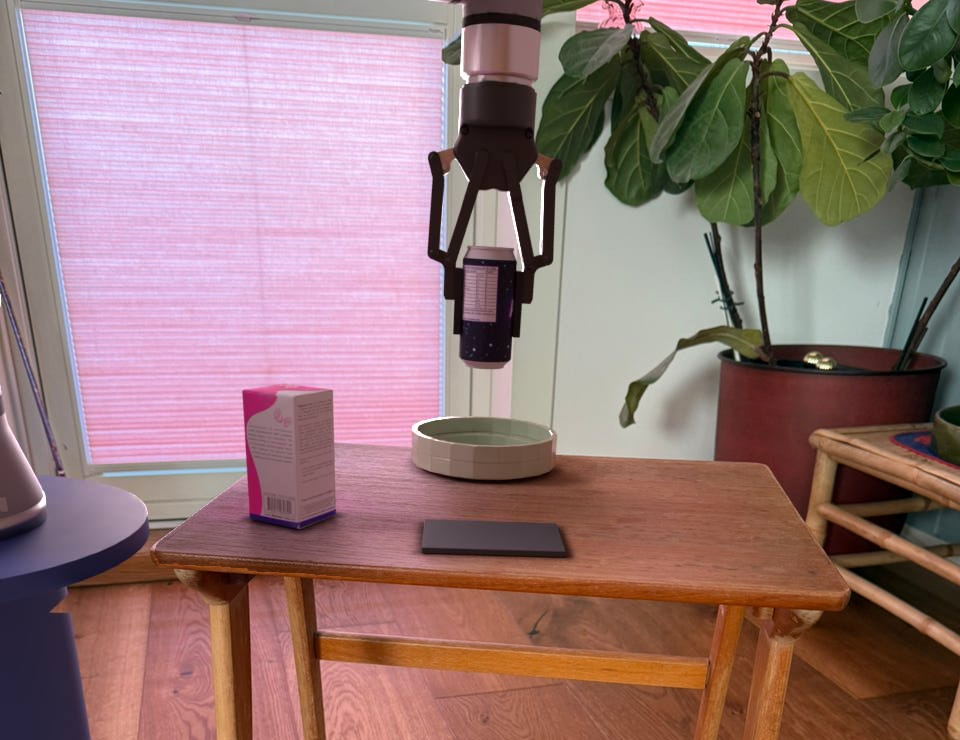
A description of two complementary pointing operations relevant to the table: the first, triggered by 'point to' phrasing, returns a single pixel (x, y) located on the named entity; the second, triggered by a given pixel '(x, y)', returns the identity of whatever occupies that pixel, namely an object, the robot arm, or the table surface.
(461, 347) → the beverage can
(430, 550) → the mat
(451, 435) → the bowl
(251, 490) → the supplement box
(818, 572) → the table surface
